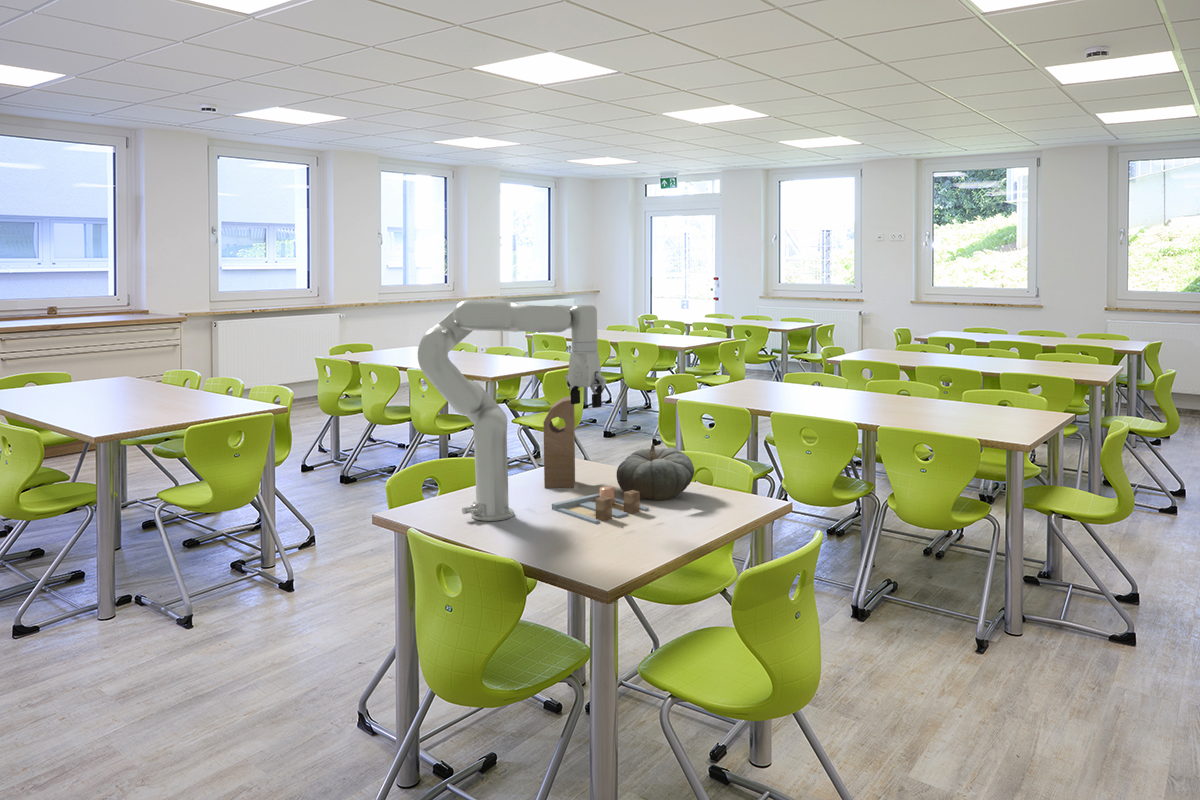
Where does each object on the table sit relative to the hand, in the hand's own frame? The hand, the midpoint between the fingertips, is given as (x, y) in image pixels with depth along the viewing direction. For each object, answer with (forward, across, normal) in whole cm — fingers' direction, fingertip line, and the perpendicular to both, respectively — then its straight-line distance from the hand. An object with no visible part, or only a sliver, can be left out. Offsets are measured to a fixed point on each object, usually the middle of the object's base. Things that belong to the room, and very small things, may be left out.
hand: (586, 405), depth 250 cm
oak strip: (+33, +4, +7) cm, 34 cm away
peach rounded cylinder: (+32, 0, +7) cm, 32 cm away
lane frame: (+33, +3, +2) cm, 33 cm away
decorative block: (+33, -33, +15) cm, 49 cm away
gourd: (+33, 0, +28) cm, 43 cm away
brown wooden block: (+33, +9, -4) cm, 34 cm away
